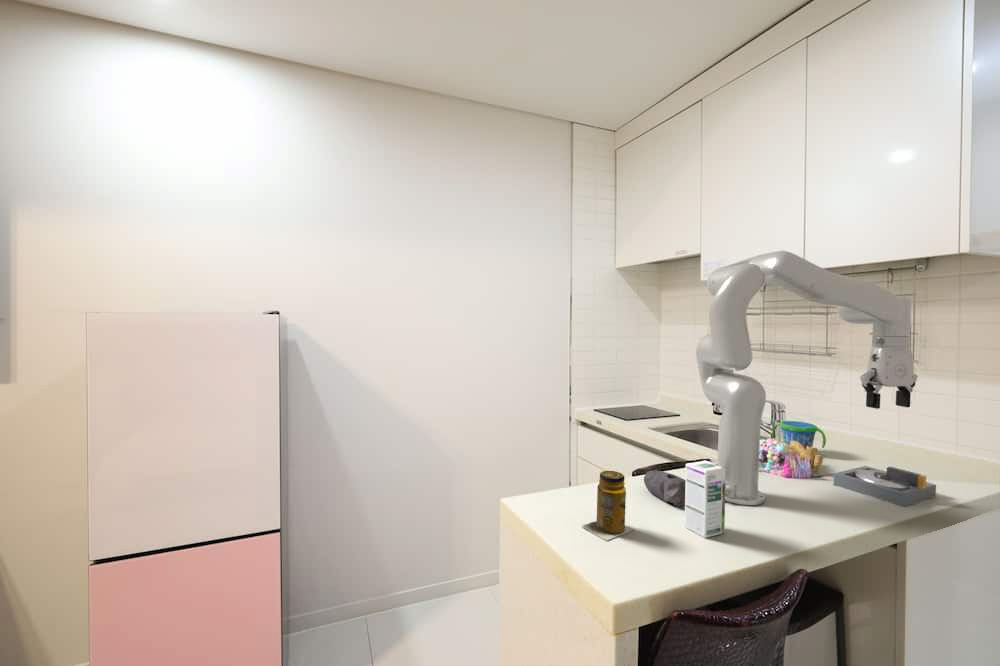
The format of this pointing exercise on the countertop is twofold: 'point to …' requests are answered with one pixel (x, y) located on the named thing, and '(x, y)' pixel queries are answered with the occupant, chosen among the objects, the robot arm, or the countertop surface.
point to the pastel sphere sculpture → (788, 459)
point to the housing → (883, 488)
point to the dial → (893, 478)
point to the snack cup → (799, 433)
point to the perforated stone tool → (666, 486)
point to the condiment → (610, 507)
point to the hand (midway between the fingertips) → (887, 407)
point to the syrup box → (705, 498)
